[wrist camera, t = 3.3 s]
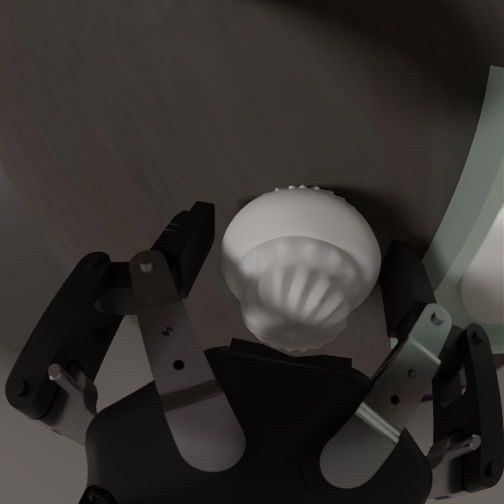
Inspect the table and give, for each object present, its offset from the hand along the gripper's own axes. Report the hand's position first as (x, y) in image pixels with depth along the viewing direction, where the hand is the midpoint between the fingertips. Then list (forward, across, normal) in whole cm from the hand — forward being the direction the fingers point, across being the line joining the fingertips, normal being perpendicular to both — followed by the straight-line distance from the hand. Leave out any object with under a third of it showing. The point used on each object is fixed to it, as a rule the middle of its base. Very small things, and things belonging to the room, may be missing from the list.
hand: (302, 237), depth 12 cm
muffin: (+2, 0, 0) cm, 2 cm away
